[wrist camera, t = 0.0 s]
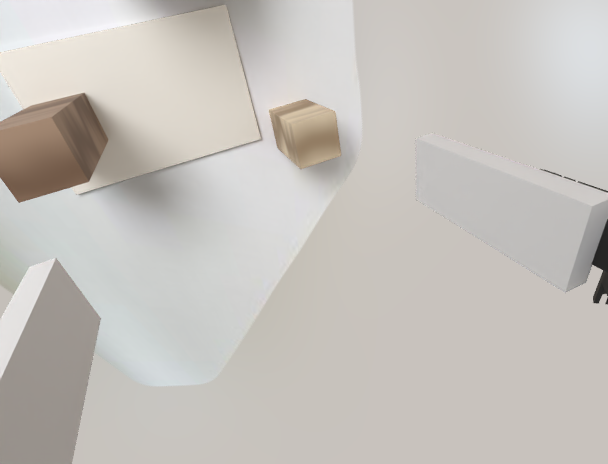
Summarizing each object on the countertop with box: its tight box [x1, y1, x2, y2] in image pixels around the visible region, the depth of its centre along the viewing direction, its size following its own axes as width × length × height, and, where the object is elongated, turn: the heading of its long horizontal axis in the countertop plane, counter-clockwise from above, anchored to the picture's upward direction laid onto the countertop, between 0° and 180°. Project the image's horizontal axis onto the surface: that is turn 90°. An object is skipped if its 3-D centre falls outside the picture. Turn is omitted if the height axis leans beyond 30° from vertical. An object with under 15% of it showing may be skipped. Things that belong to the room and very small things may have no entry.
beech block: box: [269, 99, 341, 169], centre depth 37 cm, size 4×4×8 cm
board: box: [0, 4, 261, 195], centre depth 34 cm, size 13×20×1 cm, turn 101°
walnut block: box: [0, 92, 109, 203], centre depth 27 cm, size 4×4×12 cm
